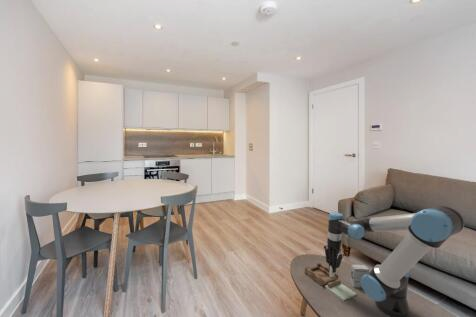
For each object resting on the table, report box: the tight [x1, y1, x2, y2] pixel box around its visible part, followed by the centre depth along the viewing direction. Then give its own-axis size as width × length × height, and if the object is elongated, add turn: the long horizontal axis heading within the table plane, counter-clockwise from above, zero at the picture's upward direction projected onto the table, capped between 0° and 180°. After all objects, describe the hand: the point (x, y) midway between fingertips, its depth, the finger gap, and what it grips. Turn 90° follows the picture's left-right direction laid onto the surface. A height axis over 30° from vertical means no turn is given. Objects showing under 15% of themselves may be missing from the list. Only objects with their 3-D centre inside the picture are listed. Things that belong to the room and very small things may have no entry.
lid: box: [324, 278, 357, 302], centre depth 128 cm, size 13×11×4 cm
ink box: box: [349, 264, 370, 289], centre depth 133 cm, size 9×5×12 cm, turn 84°
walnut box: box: [304, 262, 339, 288], centre depth 140 cm, size 15×13×4 cm
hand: (331, 276), depth 133 cm, fingers closed
